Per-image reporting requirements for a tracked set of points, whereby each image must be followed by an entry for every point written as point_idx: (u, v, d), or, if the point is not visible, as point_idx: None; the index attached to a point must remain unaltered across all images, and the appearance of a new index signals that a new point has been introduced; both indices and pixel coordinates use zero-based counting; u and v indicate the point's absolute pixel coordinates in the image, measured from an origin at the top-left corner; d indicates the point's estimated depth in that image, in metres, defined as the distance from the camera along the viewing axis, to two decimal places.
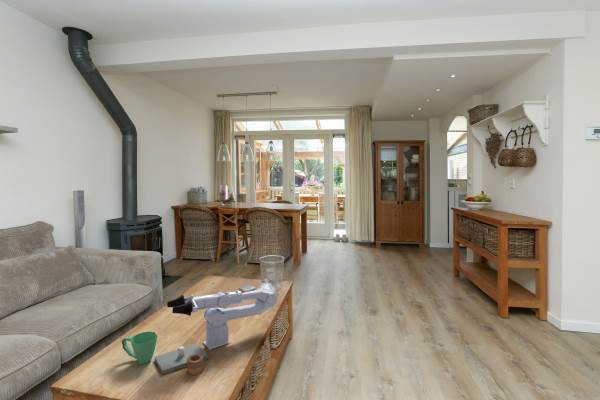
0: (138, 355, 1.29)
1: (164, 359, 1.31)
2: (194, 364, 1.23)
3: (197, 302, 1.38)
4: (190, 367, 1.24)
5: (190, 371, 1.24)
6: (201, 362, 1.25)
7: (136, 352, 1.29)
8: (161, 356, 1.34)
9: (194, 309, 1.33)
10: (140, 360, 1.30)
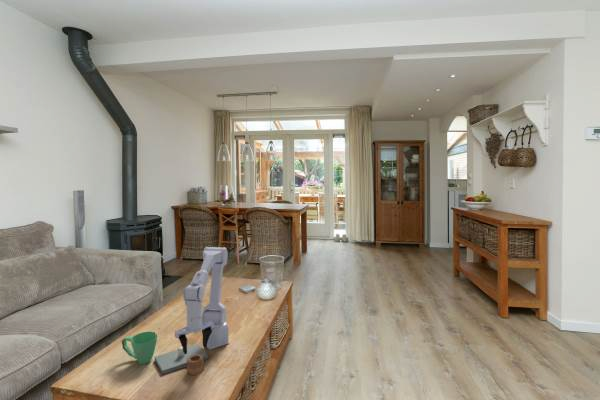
0: (138, 355, 1.29)
1: (164, 359, 1.31)
2: (194, 364, 1.23)
3: (202, 322, 1.26)
4: (190, 367, 1.24)
5: (190, 371, 1.24)
6: (201, 362, 1.25)
7: (136, 352, 1.29)
8: (161, 356, 1.34)
9: None
10: (140, 360, 1.30)
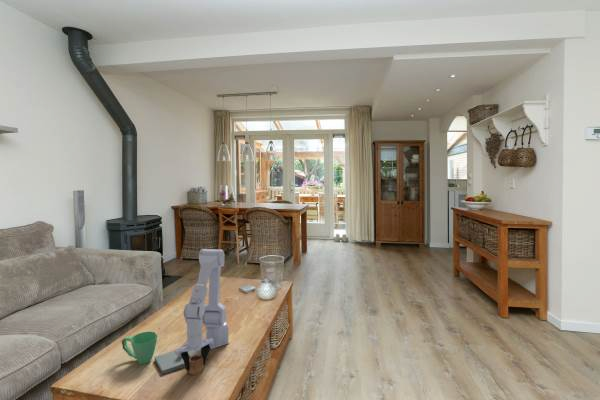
0: (138, 355, 1.29)
1: (164, 359, 1.31)
2: (194, 364, 1.23)
3: (202, 340, 1.26)
4: (190, 367, 1.24)
5: (190, 371, 1.24)
6: (201, 362, 1.25)
7: (136, 352, 1.29)
8: (161, 356, 1.34)
9: None
10: (140, 360, 1.30)
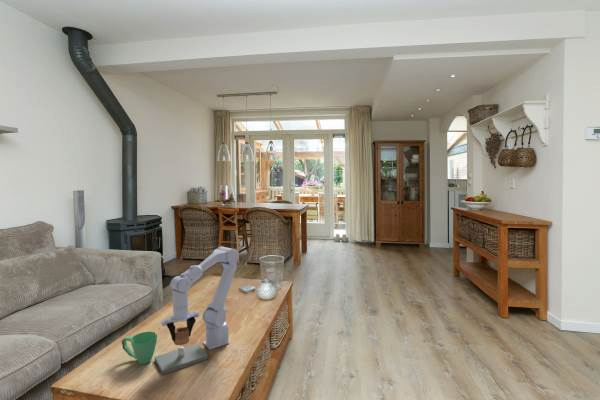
0: (138, 355, 1.29)
1: (164, 359, 1.31)
2: (180, 335, 1.30)
3: (187, 312, 1.33)
4: (176, 338, 1.30)
5: (176, 342, 1.30)
6: (187, 333, 1.32)
7: (136, 352, 1.29)
8: (161, 356, 1.34)
9: None
10: (140, 360, 1.30)
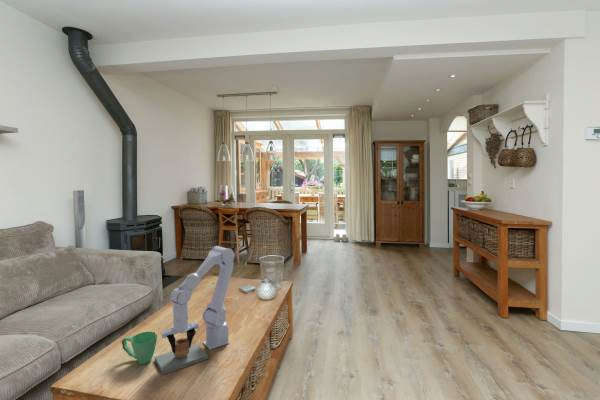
0: (138, 355, 1.29)
1: (164, 359, 1.31)
2: (180, 347, 1.30)
3: (188, 324, 1.33)
4: (176, 350, 1.31)
5: (176, 353, 1.31)
6: (187, 345, 1.32)
7: (136, 352, 1.29)
8: (161, 356, 1.34)
9: None
10: (140, 360, 1.30)
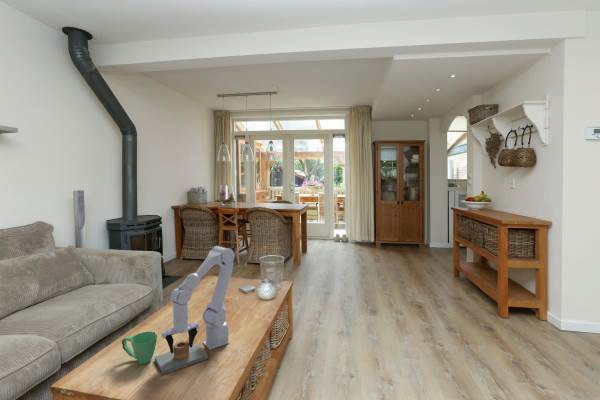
0: (138, 355, 1.29)
1: (164, 359, 1.31)
2: (180, 350, 1.31)
3: (188, 324, 1.33)
4: (176, 353, 1.31)
5: (176, 357, 1.31)
6: (187, 348, 1.33)
7: (136, 352, 1.29)
8: (161, 356, 1.34)
9: None
10: (140, 360, 1.30)
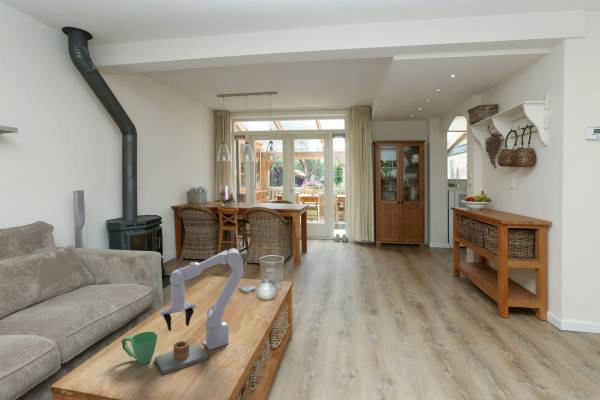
0: (138, 355, 1.29)
1: (164, 359, 1.31)
2: (180, 350, 1.31)
3: (184, 303, 1.42)
4: (176, 353, 1.31)
5: (176, 357, 1.31)
6: (187, 348, 1.33)
7: (136, 352, 1.29)
8: (161, 356, 1.34)
9: None
10: (140, 360, 1.30)
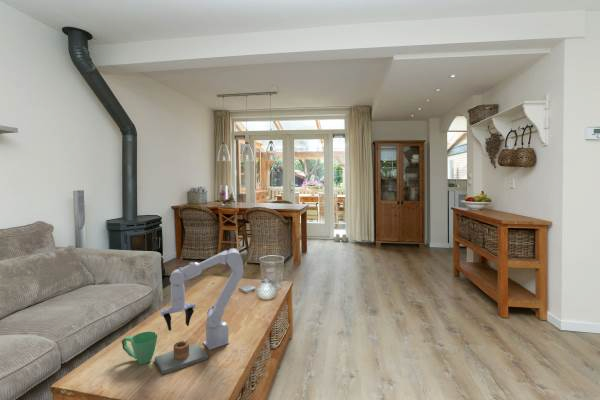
0: (138, 355, 1.29)
1: (164, 359, 1.31)
2: (180, 350, 1.31)
3: (184, 303, 1.42)
4: (176, 353, 1.31)
5: (176, 357, 1.31)
6: (187, 348, 1.33)
7: (136, 352, 1.29)
8: (161, 356, 1.34)
9: None
10: (140, 360, 1.30)
